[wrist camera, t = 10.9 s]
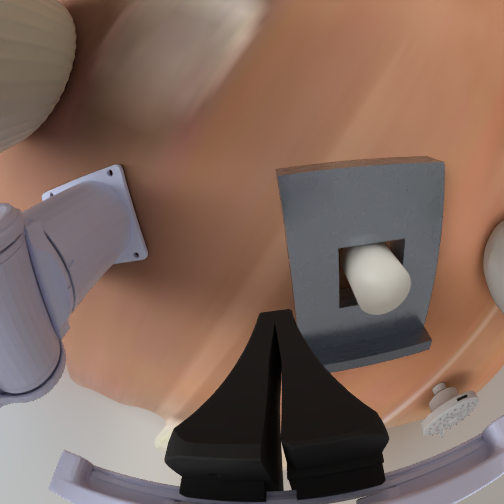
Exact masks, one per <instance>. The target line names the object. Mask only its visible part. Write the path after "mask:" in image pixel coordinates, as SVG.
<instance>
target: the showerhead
mask: <svg viewBox="0 0 504 504" xmlns="http://www.w3.org/2000/svg"><path fill="white" fill-rule="evenodd" d="M432 391H433V393H434V397H433V398H432V400H431V401H430V403H429V406H430V409H431V413H430V414H429V415H428V416H427V417H426V418H425V419H424V420H423V422H422V424H421V429H422V432H423V434H424V435H434V434H438V433H440V438H442V437H443V436H444V432H445V430H446V429H450V428H451V427H452V426H454V425H457V424H458V422H460V421H461V420H463V419H464V418H465V417H466V416H468V415H469V413H470V412H472V411H473V409H474V408H475V407H476V405H477V403H478V400H479V399H478V397H477V395H476V393H475V392H474V391H468V392H465V393H462V394H460V395H459V393H458V391H457V389H456V388H455V387H449V388H446V386H445V384H444V383H439V384H438V385H436V386H435V387H434V388H433V390H432Z"/></svg>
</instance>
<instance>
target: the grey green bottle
mask: <svg viewBox="0 0 504 504" xmlns="http://www.w3.org/2000/svg"><path fill="white" fill-rule="evenodd" d="M483 270H484V276H485V279H486V282H487V285H488V288H489V291H490V293H491V296H492V298H493V300H494V301H495V303H496V305H497V306H498V307H499V309H500V310H501V311H502V313H503V314H504V220H503V221H502V222H500V223H499V224H498V225H497V226H496V227H495V228H494V230H493V231H492V233H491V235H490V237H489V239H488V242H487V245H486V247H485V251H484V258H483Z"/></svg>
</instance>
